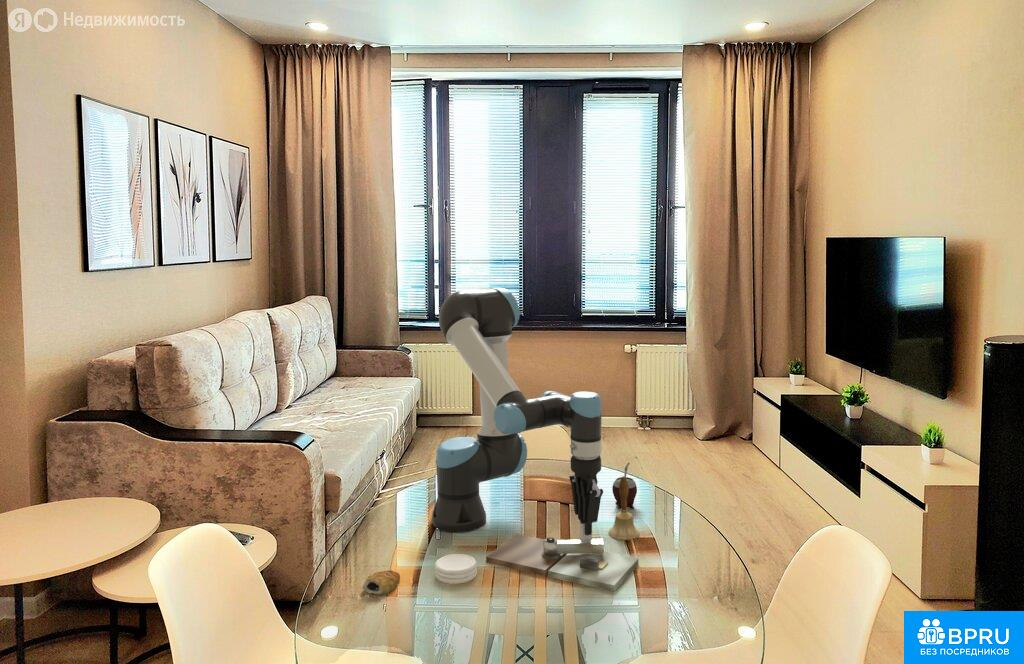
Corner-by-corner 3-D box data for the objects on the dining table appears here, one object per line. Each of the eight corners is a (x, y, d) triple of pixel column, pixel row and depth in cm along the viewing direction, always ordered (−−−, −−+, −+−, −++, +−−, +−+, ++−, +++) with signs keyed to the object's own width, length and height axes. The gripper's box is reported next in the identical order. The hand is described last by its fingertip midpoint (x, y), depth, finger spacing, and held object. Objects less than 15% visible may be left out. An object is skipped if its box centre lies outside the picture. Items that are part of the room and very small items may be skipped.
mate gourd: (622, 500, 243) (622, 451, 241) (644, 506, 238) (644, 456, 236) (606, 506, 238) (606, 457, 236) (628, 513, 233) (628, 462, 230)
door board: (485, 562, 202) (485, 548, 202) (516, 539, 216) (516, 525, 216) (613, 591, 186) (613, 575, 185) (638, 564, 200) (638, 549, 199)
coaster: (439, 587, 190) (439, 573, 189) (431, 569, 199) (431, 556, 199) (481, 581, 193) (481, 567, 192) (471, 564, 202) (471, 550, 202)
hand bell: (638, 541, 214) (639, 482, 211) (607, 539, 215) (607, 481, 213) (640, 528, 222) (640, 472, 219) (609, 527, 223) (609, 471, 221)
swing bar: (543, 555, 200) (543, 541, 200) (543, 549, 204) (543, 536, 203) (603, 555, 200) (603, 541, 200) (602, 549, 204) (602, 535, 203)
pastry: (384, 576, 196) (383, 561, 196) (407, 581, 194) (407, 566, 193) (360, 592, 188) (359, 577, 188) (384, 598, 185) (384, 582, 185)
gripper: (560, 449, 204) (560, 538, 208) (585, 465, 193) (585, 558, 197) (586, 445, 207) (586, 533, 211) (612, 460, 196) (612, 552, 200)
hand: (585, 545), depth 204 cm, fingers closed
